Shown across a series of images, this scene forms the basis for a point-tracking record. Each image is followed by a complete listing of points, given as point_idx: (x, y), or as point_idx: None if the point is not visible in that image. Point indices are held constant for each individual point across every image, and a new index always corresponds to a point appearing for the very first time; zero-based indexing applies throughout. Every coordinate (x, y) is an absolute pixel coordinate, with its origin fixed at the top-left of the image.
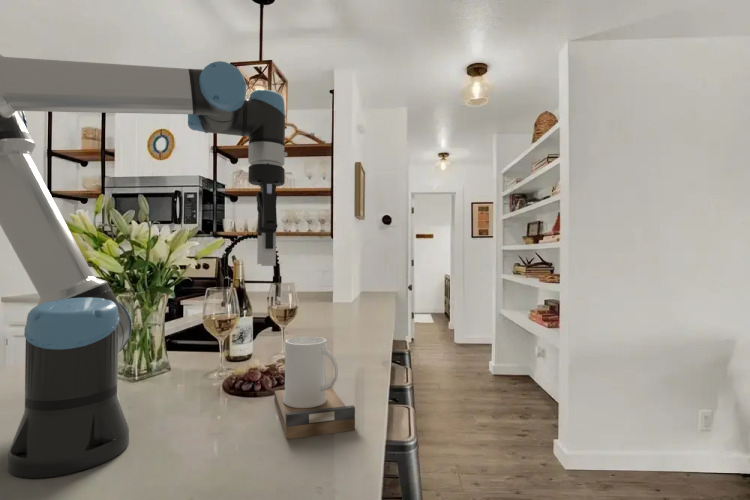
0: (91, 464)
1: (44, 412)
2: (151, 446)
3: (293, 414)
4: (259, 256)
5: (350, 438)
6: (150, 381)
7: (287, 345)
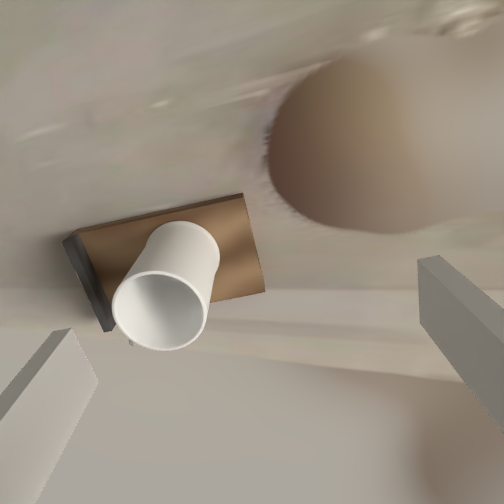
0: None
1: None
2: (27, 16)
3: (67, 251)
4: (441, 295)
5: (88, 307)
6: None
7: (131, 274)
